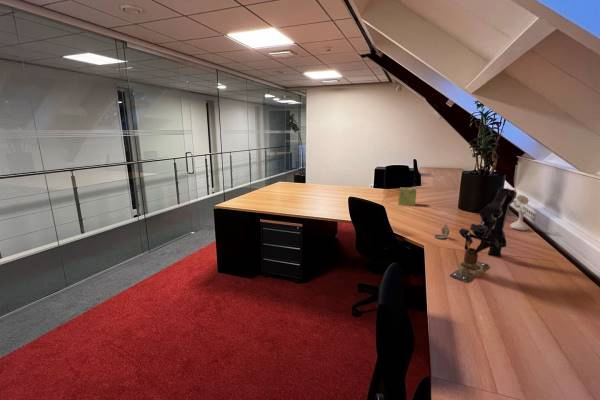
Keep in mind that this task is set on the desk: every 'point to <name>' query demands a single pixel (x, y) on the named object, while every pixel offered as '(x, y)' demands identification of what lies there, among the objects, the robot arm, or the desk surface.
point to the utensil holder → (470, 255)
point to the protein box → (407, 196)
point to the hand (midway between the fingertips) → (470, 251)
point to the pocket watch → (443, 230)
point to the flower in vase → (520, 214)
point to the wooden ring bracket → (468, 271)
